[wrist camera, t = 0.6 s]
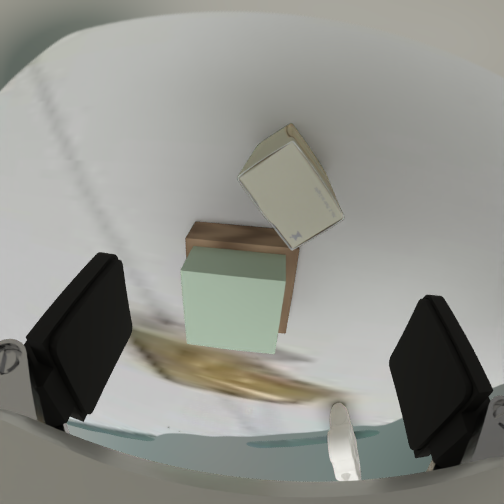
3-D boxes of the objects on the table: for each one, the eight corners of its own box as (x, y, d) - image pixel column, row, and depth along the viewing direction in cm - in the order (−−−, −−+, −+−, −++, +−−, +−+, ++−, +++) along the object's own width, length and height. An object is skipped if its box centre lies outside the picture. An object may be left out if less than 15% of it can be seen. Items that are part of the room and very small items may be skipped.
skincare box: (326, 172, 30) (350, 220, 19) (289, 195, 31) (292, 255, 21) (290, 120, 28) (295, 137, 17) (252, 145, 29) (234, 178, 19)
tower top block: (285, 254, 30) (285, 281, 26) (275, 324, 34) (274, 354, 30) (193, 245, 30) (180, 270, 27) (196, 315, 35) (187, 343, 31)
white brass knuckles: (341, 438, 54) (344, 499, 41) (324, 395, 47) (328, 474, 34) (356, 435, 53) (362, 496, 41) (344, 390, 46) (352, 469, 33)
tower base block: (297, 229, 33) (299, 248, 30) (285, 308, 39) (285, 333, 35) (196, 219, 34) (185, 238, 30) (199, 299, 39) (190, 322, 35)
